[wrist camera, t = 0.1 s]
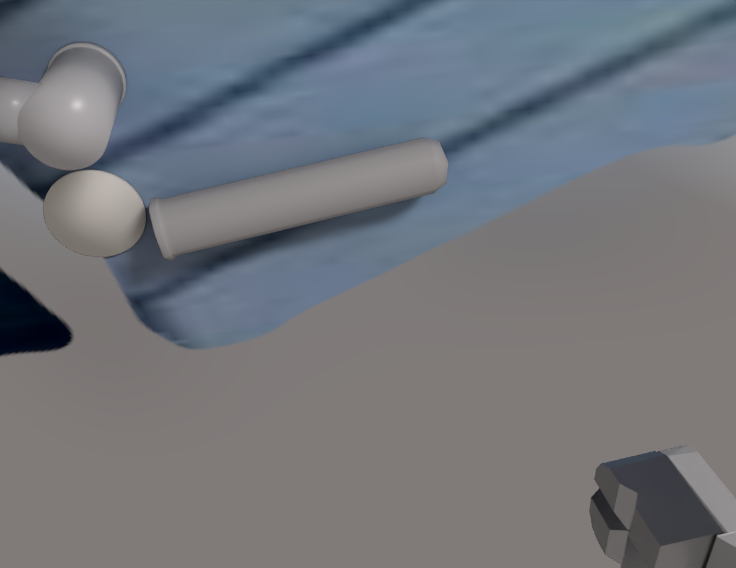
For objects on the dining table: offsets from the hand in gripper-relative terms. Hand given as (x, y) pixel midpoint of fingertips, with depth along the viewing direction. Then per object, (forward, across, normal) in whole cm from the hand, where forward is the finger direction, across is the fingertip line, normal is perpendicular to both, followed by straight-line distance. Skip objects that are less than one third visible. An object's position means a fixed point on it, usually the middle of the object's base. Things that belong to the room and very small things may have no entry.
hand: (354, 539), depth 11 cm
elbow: (+48, +13, +5) cm, 50 cm away
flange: (+48, +14, +16) cm, 53 cm away
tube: (+48, -3, +16) cm, 51 cm away
